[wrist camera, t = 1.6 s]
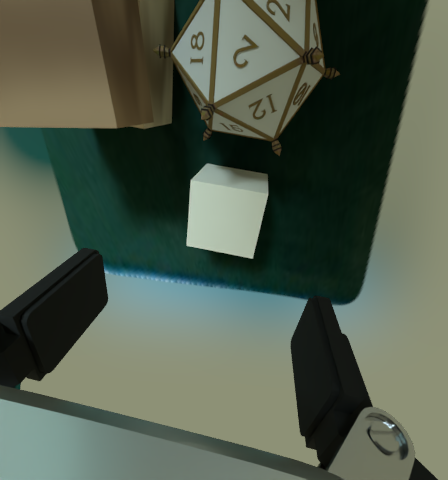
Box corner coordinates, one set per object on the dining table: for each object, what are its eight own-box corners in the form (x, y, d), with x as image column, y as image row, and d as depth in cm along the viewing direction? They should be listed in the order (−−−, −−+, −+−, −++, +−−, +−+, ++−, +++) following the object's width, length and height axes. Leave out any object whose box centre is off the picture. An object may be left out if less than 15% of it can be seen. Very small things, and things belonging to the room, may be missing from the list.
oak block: (70, -15, 15) (-7, -61, 11) (175, -1, 15) (138, -43, 11) (87, 108, 19) (35, 110, 15) (172, 122, 18) (144, 128, 14)
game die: (236, 56, 19) (156, -153, 9) (353, 60, 15) (406, -253, 6) (198, 164, 19) (82, 66, 10) (305, 191, 16) (286, 81, 6)
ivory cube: (207, 163, 19) (190, 180, 15) (267, 173, 19) (268, 194, 15) (201, 217, 22) (186, 245, 18) (255, 228, 22) (252, 258, 17)
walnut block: (-8, -43, 11) (-127, -107, 8) (130, -56, 10) (63, -136, 7) (47, 121, 15) (-19, 126, 11) (153, 122, 14) (117, 128, 10)
